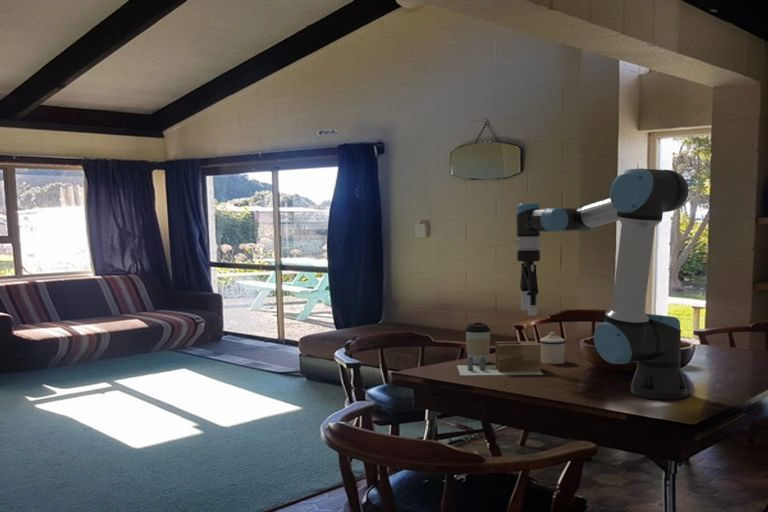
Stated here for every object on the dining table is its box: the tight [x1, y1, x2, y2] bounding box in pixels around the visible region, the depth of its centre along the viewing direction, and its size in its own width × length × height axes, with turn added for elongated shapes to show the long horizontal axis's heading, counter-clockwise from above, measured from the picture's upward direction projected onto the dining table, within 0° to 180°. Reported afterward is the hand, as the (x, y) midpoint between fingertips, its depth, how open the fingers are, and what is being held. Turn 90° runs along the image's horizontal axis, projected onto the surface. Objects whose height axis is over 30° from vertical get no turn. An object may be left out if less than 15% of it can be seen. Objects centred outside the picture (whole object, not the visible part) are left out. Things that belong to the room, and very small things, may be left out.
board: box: [456, 356, 545, 376], centre depth 228 cm, size 16×27×6 cm, turn 88°
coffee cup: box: [465, 322, 491, 365], centre depth 242 cm, size 9×9×15 cm
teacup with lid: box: [538, 331, 566, 365], centre depth 242 cm, size 12×9×12 cm
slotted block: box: [495, 340, 542, 372], centre depth 227 cm, size 7×14×9 cm, turn 88°
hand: (529, 312), depth 227 cm, fingers open, 13 cm apart
